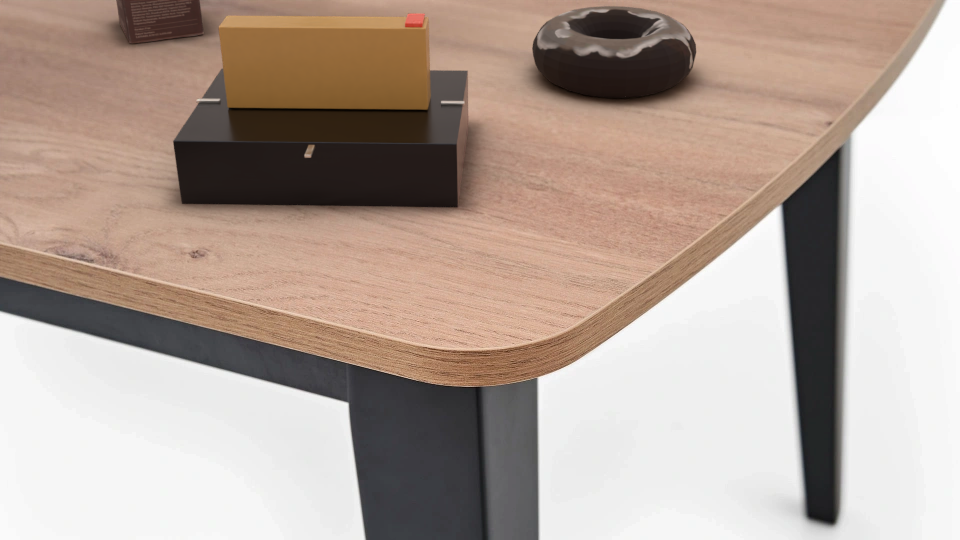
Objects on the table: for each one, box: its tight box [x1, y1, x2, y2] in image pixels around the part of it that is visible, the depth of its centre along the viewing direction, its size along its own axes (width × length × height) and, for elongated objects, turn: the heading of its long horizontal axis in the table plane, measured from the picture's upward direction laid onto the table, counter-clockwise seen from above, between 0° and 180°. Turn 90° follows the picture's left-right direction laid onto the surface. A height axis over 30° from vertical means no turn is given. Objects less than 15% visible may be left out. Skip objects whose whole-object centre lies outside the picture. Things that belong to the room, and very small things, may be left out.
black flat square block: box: [172, 68, 469, 208], centre depth 74 cm, size 16×16×4 cm
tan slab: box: [218, 12, 431, 110], centre depth 72 cm, size 12×2×5 cm, turn 88°
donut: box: [531, 5, 697, 99], centre depth 87 cm, size 12×12×4 cm
